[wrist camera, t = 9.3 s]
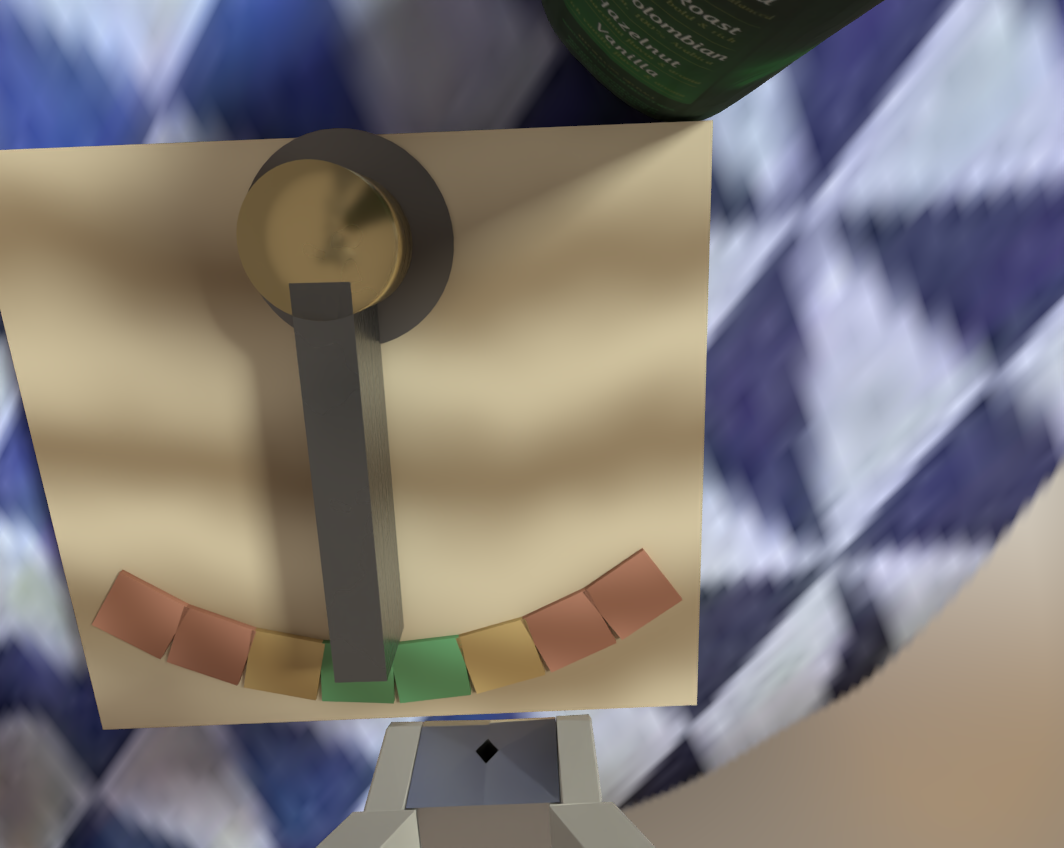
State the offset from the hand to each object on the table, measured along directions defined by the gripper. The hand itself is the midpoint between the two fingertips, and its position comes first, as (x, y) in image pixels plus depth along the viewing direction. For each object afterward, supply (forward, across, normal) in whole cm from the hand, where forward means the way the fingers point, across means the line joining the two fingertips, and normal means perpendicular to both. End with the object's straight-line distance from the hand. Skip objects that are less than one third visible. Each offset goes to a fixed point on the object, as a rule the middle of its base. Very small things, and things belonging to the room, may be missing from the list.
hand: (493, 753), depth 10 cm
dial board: (+15, +5, 0) cm, 16 cm away
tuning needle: (+13, +5, -2) cm, 14 cm away
